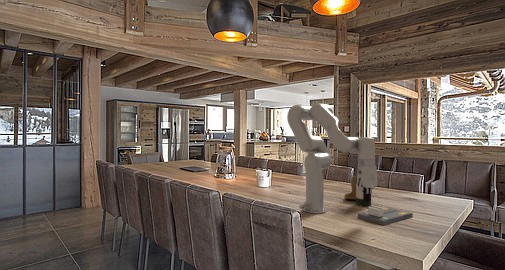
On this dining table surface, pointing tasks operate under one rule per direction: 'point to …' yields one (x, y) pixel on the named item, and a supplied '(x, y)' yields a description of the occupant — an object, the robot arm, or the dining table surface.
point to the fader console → (386, 216)
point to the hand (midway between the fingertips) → (367, 201)
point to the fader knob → (376, 211)
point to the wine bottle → (360, 197)
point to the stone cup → (353, 194)
